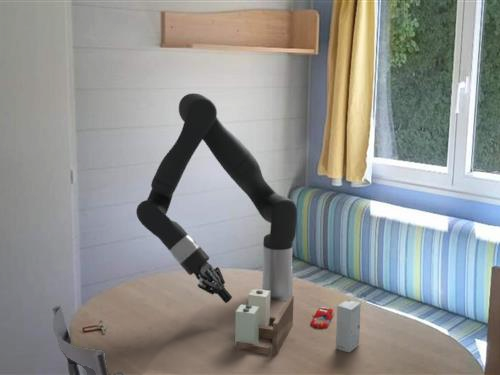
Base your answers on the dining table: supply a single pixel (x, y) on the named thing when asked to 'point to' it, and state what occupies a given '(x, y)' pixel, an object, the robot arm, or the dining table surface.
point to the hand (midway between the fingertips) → (229, 300)
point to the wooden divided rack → (273, 331)
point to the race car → (322, 318)
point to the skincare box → (348, 325)
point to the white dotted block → (261, 305)
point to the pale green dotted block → (247, 324)
